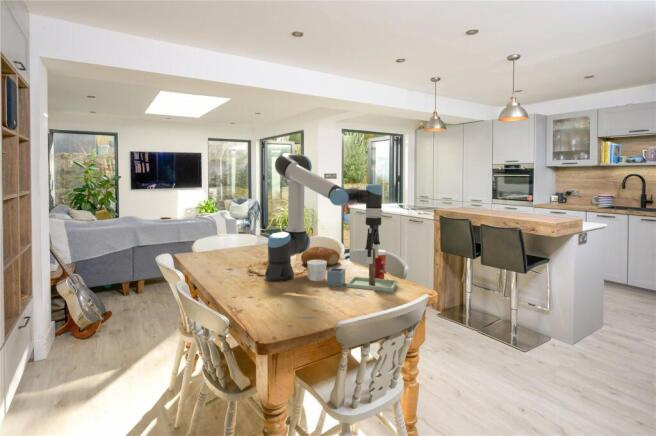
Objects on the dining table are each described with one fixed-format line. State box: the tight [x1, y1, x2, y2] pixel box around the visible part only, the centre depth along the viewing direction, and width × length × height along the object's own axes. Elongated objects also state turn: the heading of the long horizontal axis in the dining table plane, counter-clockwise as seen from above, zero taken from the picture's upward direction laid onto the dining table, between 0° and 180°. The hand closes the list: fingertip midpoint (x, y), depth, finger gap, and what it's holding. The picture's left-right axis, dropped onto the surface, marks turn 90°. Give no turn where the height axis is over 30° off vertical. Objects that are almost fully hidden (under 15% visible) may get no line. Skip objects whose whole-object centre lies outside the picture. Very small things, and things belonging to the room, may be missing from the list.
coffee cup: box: [375, 248, 388, 279], centre depth 206 cm, size 8×8×15 cm
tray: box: [345, 276, 398, 294], centre depth 191 cm, size 22×14×2 cm, turn 72°
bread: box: [300, 246, 341, 267], centre depth 239 cm, size 23×23×10 cm
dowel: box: [368, 248, 375, 286], centre depth 190 cm, size 3×3×18 cm
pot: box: [326, 267, 346, 287], centre depth 192 cm, size 7×7×8 cm
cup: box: [306, 260, 327, 282], centre depth 201 cm, size 10×10×10 cm
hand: (372, 260), depth 190 cm, fingers open, 13 cm apart
